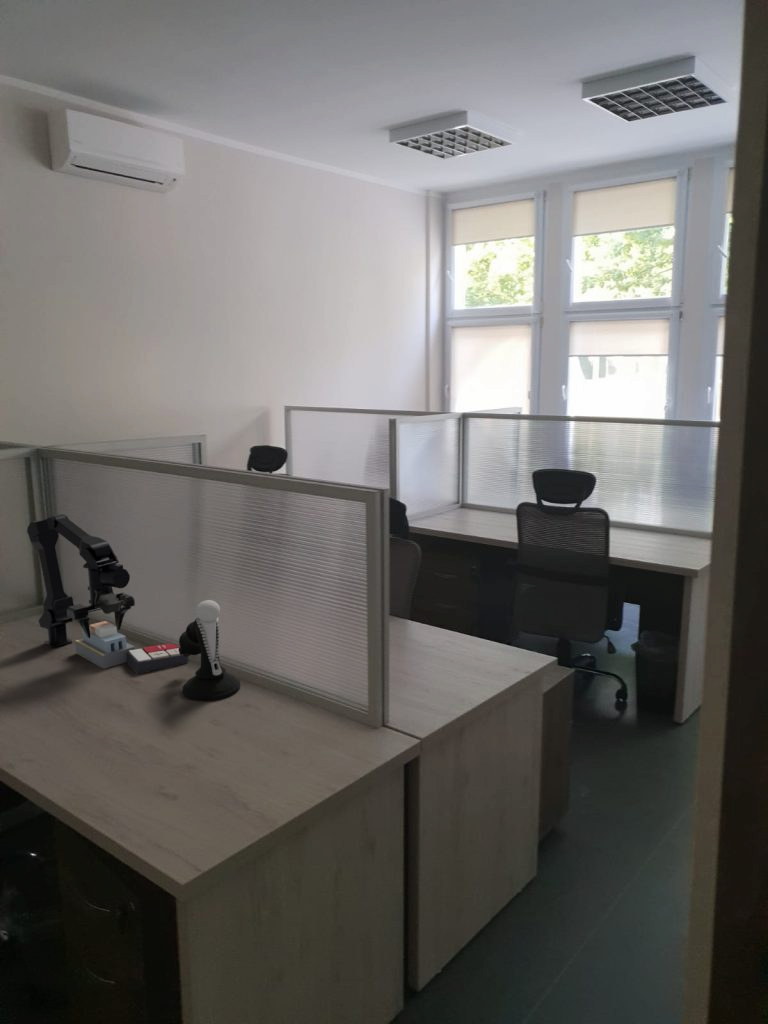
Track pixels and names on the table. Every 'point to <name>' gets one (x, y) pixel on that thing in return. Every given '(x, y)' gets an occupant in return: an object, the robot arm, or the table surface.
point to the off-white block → (106, 630)
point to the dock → (102, 654)
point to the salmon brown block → (93, 626)
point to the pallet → (106, 641)
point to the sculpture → (206, 657)
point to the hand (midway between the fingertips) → (103, 633)
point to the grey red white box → (155, 658)
